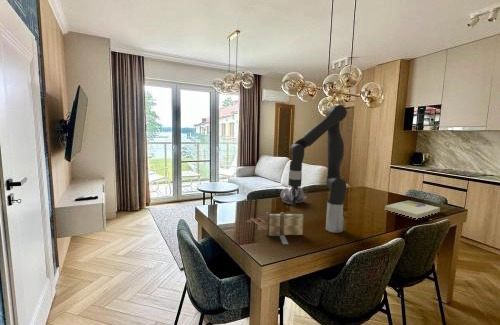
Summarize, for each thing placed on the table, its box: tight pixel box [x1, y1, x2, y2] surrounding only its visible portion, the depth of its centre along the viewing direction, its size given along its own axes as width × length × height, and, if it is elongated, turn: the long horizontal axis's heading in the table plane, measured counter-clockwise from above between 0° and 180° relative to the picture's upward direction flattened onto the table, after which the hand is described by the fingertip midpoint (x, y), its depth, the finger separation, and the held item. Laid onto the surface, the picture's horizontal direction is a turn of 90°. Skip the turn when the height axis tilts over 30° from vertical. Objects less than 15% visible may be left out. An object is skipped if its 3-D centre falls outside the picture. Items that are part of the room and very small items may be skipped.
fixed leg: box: [265, 211, 285, 236], centre depth 140 cm, size 10×2×13 cm, turn 93°
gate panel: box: [284, 213, 304, 236], centre depth 141 cm, size 10×2×12 cm, turn 93°
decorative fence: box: [245, 216, 266, 231], centre depth 157 cm, size 23×2×15 cm
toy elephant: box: [279, 186, 308, 205], centre depth 209 cm, size 20×18×15 cm
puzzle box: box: [384, 200, 441, 220], centre depth 193 cm, size 36×5×24 cm
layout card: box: [268, 235, 289, 245], centre depth 137 cm, size 24×15×1 cm, turn 93°
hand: (293, 206), depth 147 cm, fingers closed
